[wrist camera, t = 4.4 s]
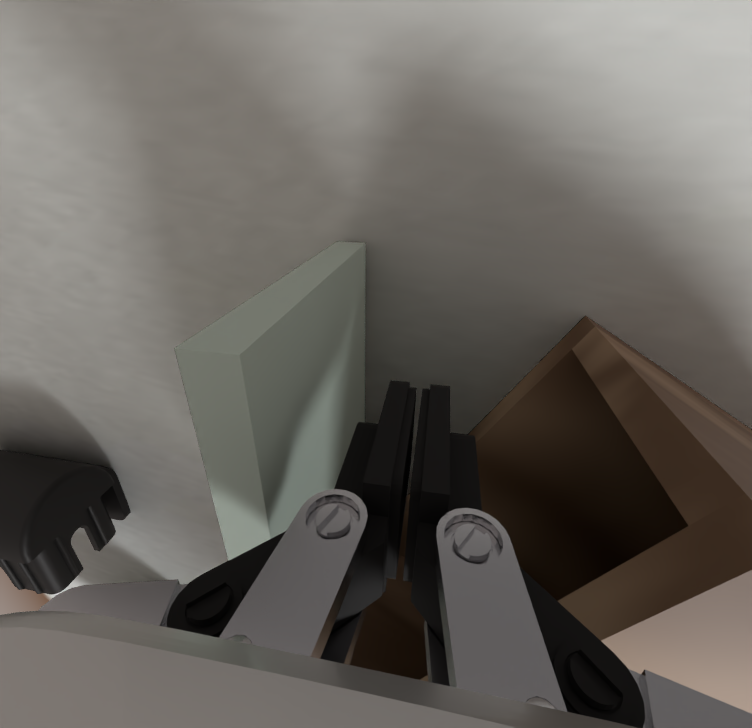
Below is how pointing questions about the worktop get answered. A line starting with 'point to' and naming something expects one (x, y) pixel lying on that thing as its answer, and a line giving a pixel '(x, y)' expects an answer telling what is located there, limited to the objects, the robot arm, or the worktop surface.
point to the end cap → (53, 517)
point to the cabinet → (612, 517)
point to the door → (279, 394)
